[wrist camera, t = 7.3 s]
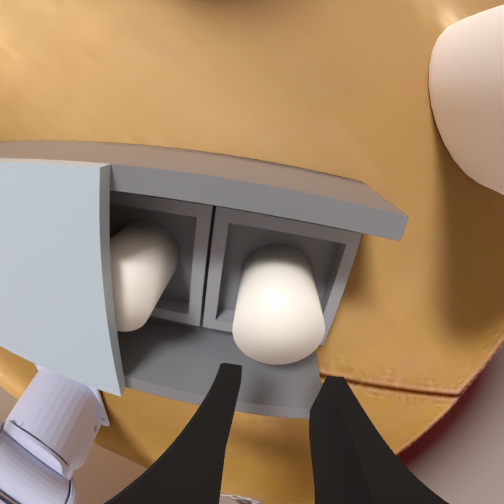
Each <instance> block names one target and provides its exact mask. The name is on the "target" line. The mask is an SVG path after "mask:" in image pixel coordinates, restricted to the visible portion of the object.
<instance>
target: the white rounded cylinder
mask: <svg viewBox="0 0 504 504" xmlns="http://www.w3.org/2000/svg"><path fill="white" fill-rule="evenodd" d="M232 333H233V338H234V341H235V343H236V345H237V346H238V348H239V349H240V350H241V351H242V352H243V353H244V354H245V355H247V356H248V357H250V358H252V359H254V360H256V361H258V362H262V363H266V364H274V365H281V364H289V363H293V362H297V361H299V360H302V359H303V358H305V357H307V356H309V355H310V354H311V353H313V352H314V351H315V350H316V349H317V348H318V346H319V345H320V343H321V342H322V340H323V337H324V334H325V322H324V318H323V313H322V309H321V305H320V301H319V297H318V293H317V289H316V285H315V281H314V277H313V273H312V269H311V266H310V263H309V261H308V259H307V258H306V256H305V255H304V254H303V253H302V252H301V251H299V250H298V249H296V248H294V247H292V246H289V245H286V244H269V245H265V246H262V247H260V248H258V249H256V250H255V251H254V252H252V253H251V254H250V255H249V256H248V258H247V259H246V261H245V262H244V265H243V268H242V273H241V279H240V284H239V290H238V296H237V302H236V308H235V314H234V321H233V328H232Z"/></svg>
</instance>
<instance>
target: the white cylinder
mask: <svg viewBox="0 0 504 504" xmlns="http://www.w3.org/2000/svg"><path fill="white" fill-rule="evenodd" d="M428 85H429V93H430V101H431V107H432V111H433V114H434V118H435V122H436V126H437V128H438V130H439V133H440V135H441V137H442V140H443V142H444V145H445V146H446V148H447V149H448V151H449V153H450V155H451V156H452V158H453V160H454V161H455V162H456V163H457V164H458V166H459V167H460V168H461V169H462V170H463V172H464V173H465V174H467V175H468V176H469V177H470V178H472V179H473V180H474V181H476V182H477V183H479V184H481V185H483V186H485V187H487V188H490V189H492V190H494V191H496V192H498V193H501V194H503V195H504V5H501V6H498V7H495V8H492V9H489V10H486V11H483V12H480V13H478V14H475V15H472V16H470V17H467V18H464V19H462V20H460V21H458V22H456V23H454V24H452V25H450V26H448V27H447V28H446V29H445V30H444V31H443V33H442V34H441V35H440V36H439V37H438V39H437V41H436V44H435V46H434V48H433V50H432V55H431V59H430V64H429V84H428Z"/></svg>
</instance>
